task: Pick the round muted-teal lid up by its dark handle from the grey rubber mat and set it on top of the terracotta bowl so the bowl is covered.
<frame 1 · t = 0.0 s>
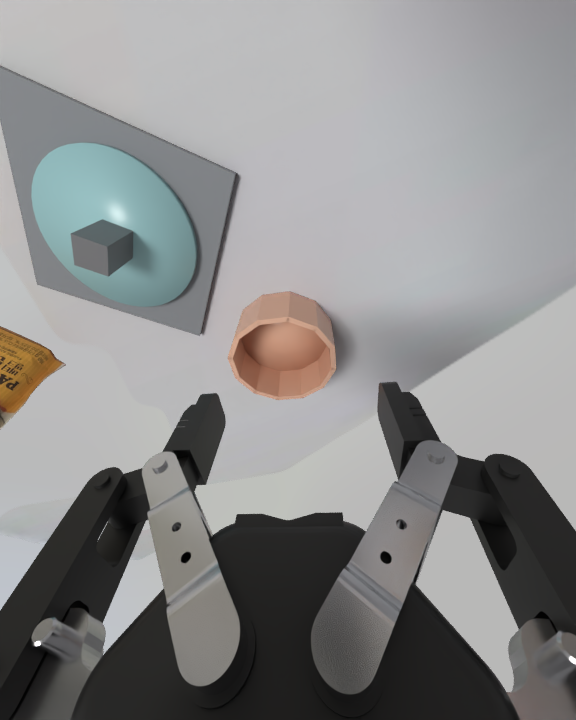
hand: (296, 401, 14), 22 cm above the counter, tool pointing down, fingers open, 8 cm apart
lid: (122, 236, 30), point 1 cm above the counter, touching mat
mat: (126, 234, 30), on the counter
bowl: (284, 335, 38), on the counter
pancake mix bag: (6, 340, 41), on the counter
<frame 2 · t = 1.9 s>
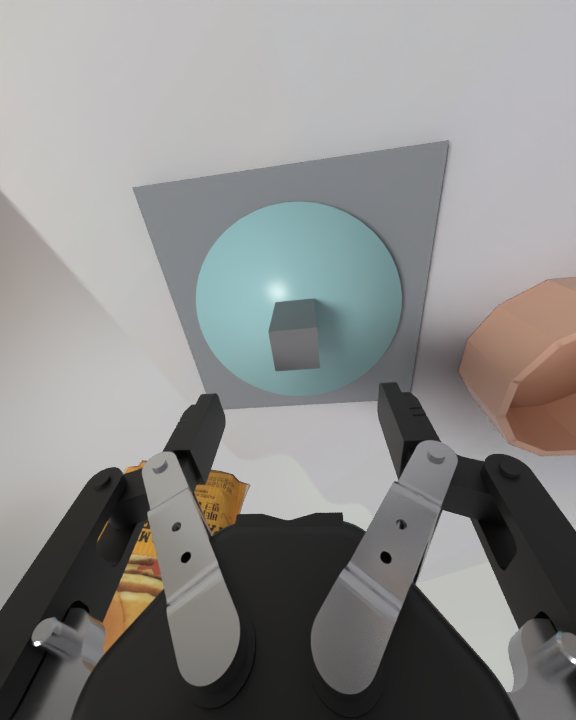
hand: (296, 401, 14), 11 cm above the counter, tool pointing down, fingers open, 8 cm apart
lid: (297, 313, 23), point 1 cm above the counter, touching mat
mat: (297, 309, 23), on the counter
bowl: (540, 350, 24), on the counter
pancake mix bag: (190, 478, 37), on the counter
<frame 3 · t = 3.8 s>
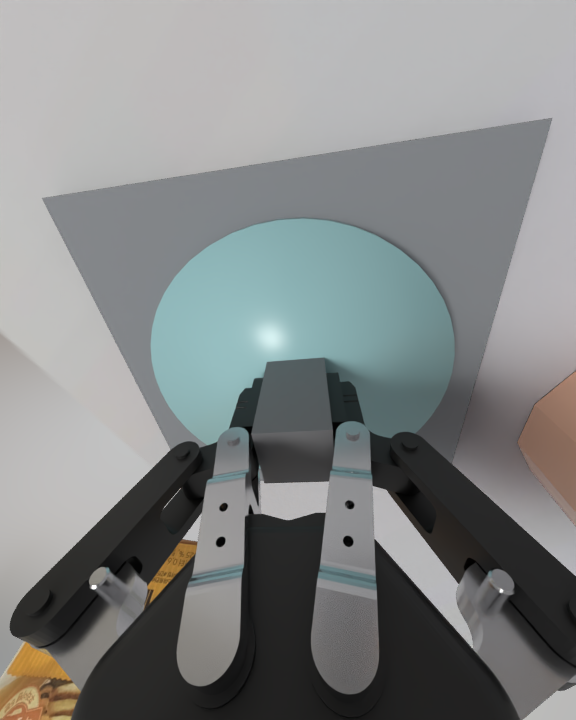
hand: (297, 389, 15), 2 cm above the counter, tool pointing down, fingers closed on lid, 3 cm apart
lid: (298, 372, 16), point 1 cm above the counter, touching gripper, mat
mat: (298, 365, 17), on the counter
pancake mix bag: (167, 547, 31), on the counter
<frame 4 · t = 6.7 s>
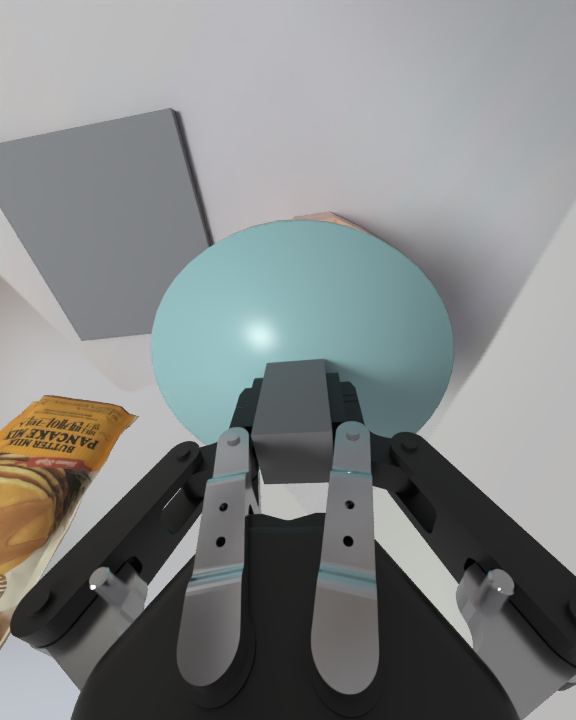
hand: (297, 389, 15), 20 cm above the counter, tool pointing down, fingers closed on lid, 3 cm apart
lid: (298, 373, 16), point 18 cm above the counter, touching gripper
mat: (120, 248, 30), on the counter
bowl: (317, 279, 31), on the counter
pancake mix bag: (89, 412, 44), on the counter
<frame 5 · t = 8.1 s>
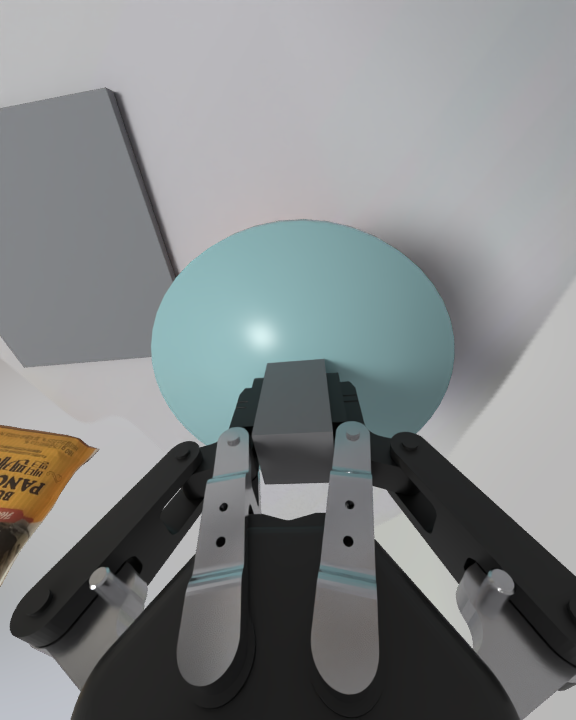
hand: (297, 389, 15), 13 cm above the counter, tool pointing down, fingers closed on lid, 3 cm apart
lid: (298, 373, 16), point 11 cm above the counter, touching gripper
mat: (60, 262, 25), on the counter
pancake mix bag: (43, 443, 39), on the counter
when the fingers open (9 cm above the counter, at t = 9.5 s): lid drops 1 cm, resting on bowl.
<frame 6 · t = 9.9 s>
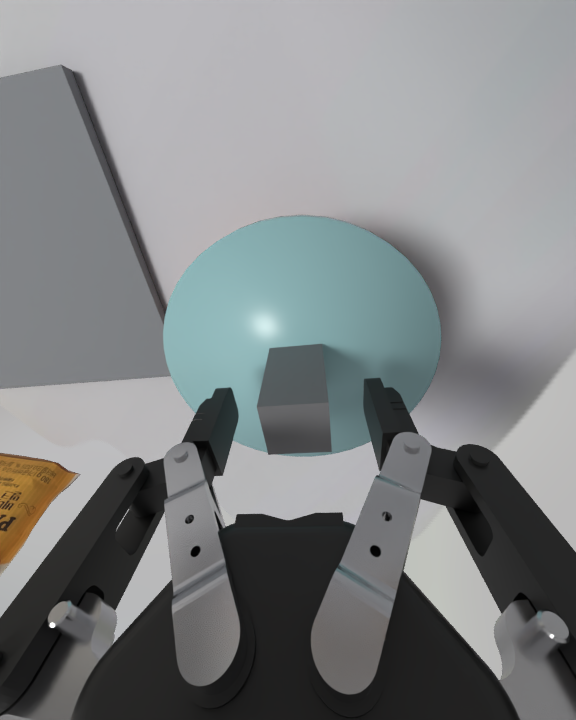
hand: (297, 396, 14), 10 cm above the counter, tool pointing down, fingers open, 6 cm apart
lid: (298, 358, 17), point 6 cm above the counter, touching bowl
mat: (24, 273, 21), on the counter
pancake mix bag: (20, 467, 35), on the counter
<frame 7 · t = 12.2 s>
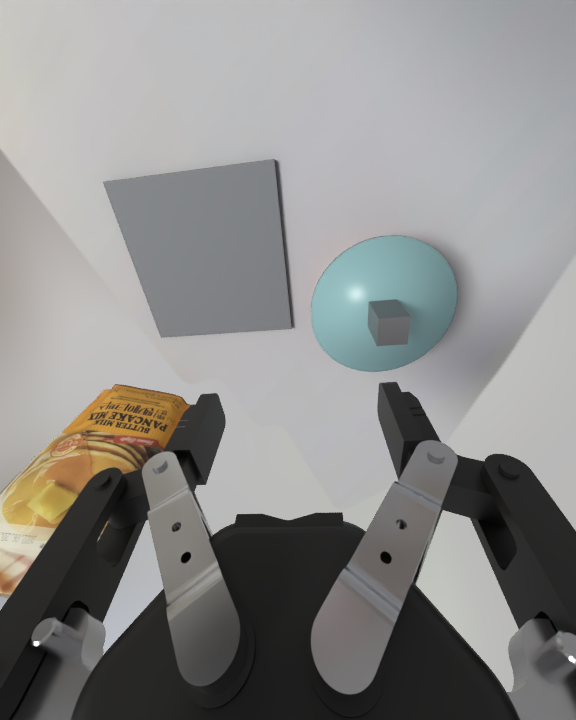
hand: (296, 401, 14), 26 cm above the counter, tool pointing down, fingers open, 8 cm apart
lid: (379, 309, 32), point 6 cm above the counter, touching bowl
mat: (209, 262, 36), on the counter
pancake mix bag: (151, 401, 50), on the counter
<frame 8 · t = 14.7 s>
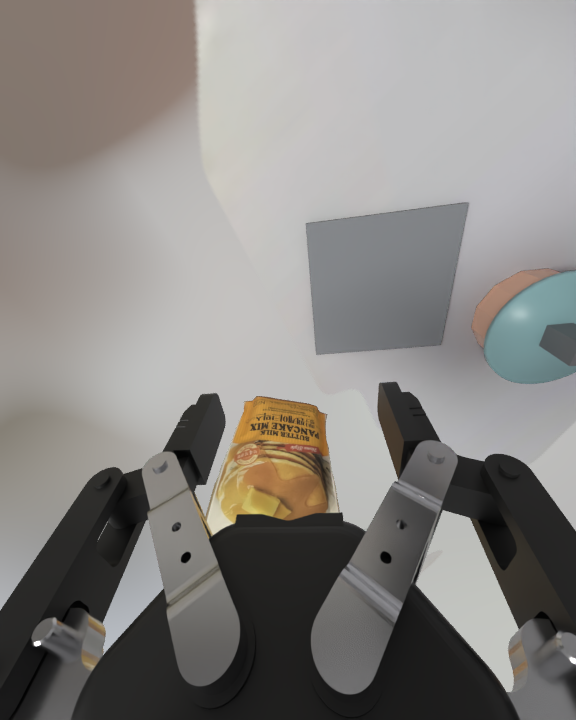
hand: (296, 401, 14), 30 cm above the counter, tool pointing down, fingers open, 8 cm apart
lid: (549, 331, 36), point 6 cm above the counter, touching bowl
mat: (379, 289, 41), on the counter
bowl: (519, 313, 41), on the counter, touching lid
pancake mix bag: (285, 410, 55), on the counter
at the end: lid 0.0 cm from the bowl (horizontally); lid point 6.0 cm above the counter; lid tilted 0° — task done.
